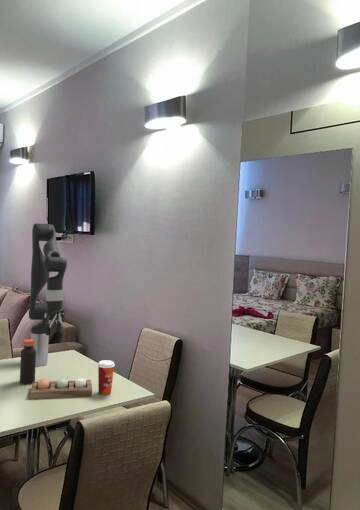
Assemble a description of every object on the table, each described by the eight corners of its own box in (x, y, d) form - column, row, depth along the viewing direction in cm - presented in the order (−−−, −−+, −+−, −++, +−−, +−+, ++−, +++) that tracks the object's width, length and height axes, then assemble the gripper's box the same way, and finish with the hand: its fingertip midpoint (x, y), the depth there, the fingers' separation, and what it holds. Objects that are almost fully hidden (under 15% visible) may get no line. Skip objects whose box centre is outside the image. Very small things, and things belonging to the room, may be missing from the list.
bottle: (16, 382, 191) (18, 340, 190) (27, 378, 197) (29, 337, 196) (26, 385, 188) (28, 343, 187) (38, 381, 194) (39, 340, 193)
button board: (32, 388, 185) (32, 381, 185) (90, 386, 192) (91, 380, 192) (29, 399, 174) (30, 392, 174) (91, 396, 181) (92, 389, 180)
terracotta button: (37, 387, 183) (38, 379, 182) (49, 387, 184) (49, 378, 184) (37, 392, 178) (37, 383, 178) (48, 391, 179) (49, 382, 179)
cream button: (74, 386, 187) (75, 378, 186) (85, 386, 188) (85, 377, 188) (74, 390, 182) (75, 381, 182) (85, 390, 183) (86, 381, 183)
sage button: (56, 387, 185) (57, 378, 184) (67, 386, 186) (67, 378, 186) (56, 391, 180) (56, 382, 180) (67, 390, 181) (67, 382, 181)
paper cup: (107, 397, 181) (109, 366, 180) (92, 393, 184) (94, 363, 183) (116, 391, 188) (118, 361, 188) (102, 387, 191) (103, 358, 190)
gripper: (56, 297, 200) (55, 330, 200) (38, 300, 186) (37, 335, 186) (69, 298, 198) (68, 331, 198) (52, 301, 184) (51, 337, 184)
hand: (53, 333), depth 192 cm, fingers open, 8 cm apart
